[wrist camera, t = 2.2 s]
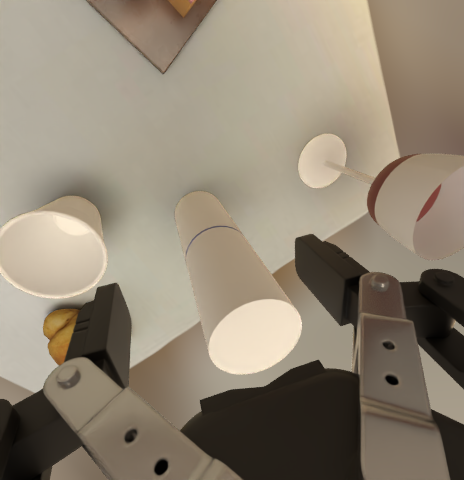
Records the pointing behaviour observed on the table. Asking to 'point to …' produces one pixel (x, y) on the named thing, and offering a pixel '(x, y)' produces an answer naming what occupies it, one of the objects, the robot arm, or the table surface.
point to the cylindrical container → (233, 290)
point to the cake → (182, 6)
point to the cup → (54, 249)
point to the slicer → (153, 25)
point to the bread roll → (59, 332)
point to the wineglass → (401, 194)
